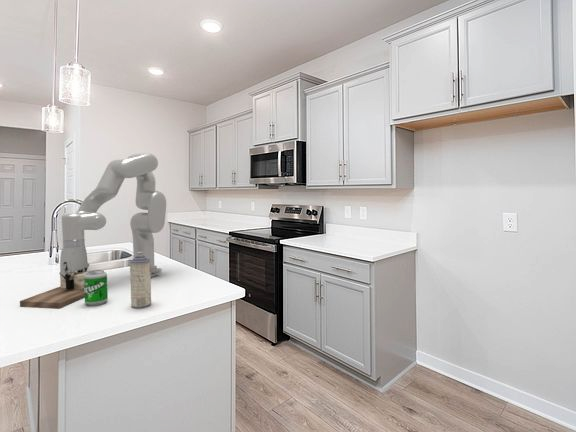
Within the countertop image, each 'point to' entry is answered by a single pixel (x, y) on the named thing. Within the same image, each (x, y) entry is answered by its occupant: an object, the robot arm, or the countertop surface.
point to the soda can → (95, 287)
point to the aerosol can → (140, 281)
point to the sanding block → (78, 281)
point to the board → (53, 298)
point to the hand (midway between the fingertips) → (75, 286)
